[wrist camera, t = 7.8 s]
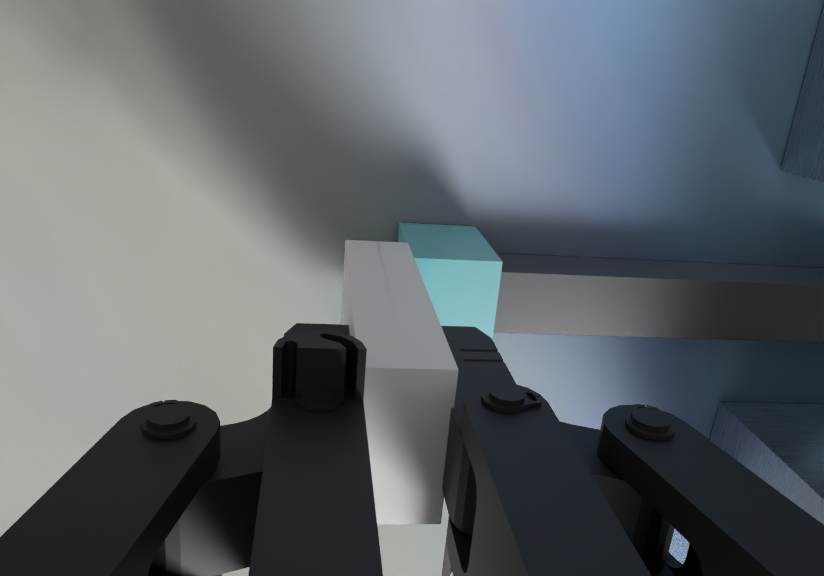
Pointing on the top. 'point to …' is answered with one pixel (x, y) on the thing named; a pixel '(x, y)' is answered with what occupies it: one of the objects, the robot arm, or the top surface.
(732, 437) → the grey bridge block
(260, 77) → the top surface
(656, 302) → the teal and grey bar
